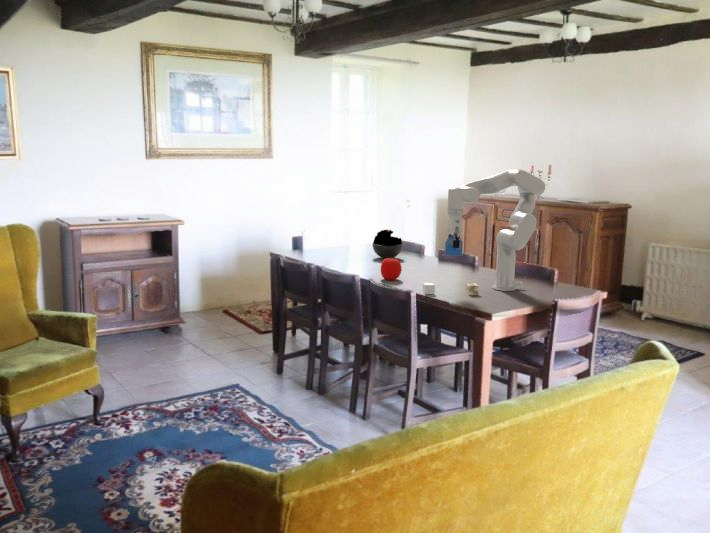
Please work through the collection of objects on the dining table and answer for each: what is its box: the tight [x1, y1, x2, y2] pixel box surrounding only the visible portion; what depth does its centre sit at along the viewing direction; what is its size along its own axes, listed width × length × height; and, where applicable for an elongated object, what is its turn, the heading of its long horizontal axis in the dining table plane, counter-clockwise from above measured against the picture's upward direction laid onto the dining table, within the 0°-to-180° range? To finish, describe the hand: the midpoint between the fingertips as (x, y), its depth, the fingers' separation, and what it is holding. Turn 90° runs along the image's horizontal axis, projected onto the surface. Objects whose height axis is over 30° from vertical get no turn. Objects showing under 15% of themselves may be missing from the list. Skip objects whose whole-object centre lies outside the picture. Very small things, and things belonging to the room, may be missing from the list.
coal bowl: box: [371, 229, 404, 260], centre depth 417 cm, size 20×20×19 cm
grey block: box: [422, 282, 436, 295], centre depth 323 cm, size 5×5×5 cm
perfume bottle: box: [444, 235, 463, 256], centre depth 321 cm, size 6×6×12 cm
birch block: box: [465, 283, 479, 296], centre depth 324 cm, size 5×5×5 cm
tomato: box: [380, 257, 402, 281], centre depth 353 cm, size 12×12×13 cm
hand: (453, 246), depth 322 cm, fingers closed on perfume bottle, 9 cm apart
